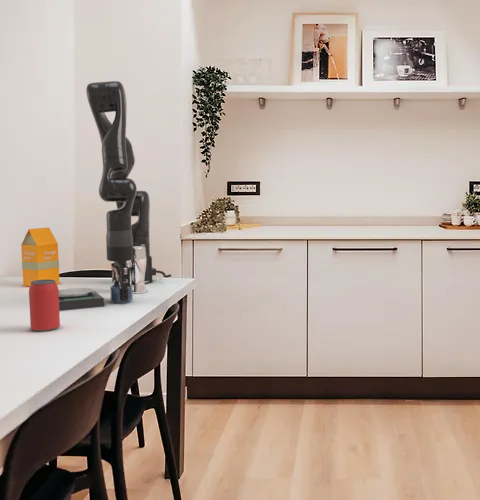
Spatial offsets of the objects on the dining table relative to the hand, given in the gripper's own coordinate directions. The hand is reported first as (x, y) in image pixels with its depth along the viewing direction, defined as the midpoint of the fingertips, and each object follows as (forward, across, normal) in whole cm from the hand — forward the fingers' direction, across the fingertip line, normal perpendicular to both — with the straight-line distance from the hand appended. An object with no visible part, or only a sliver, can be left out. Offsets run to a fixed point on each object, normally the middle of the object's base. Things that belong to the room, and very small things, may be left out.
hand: (121, 298), depth 187 cm
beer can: (+1, -26, +24) cm, 35 cm away
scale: (+1, +3, +12) cm, 13 cm away
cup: (+1, 0, 0) cm, 1 cm away
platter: (-2, +4, +12) cm, 13 cm away
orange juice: (+1, +46, +17) cm, 49 cm away
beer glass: (+1, +15, -8) cm, 17 cm away
